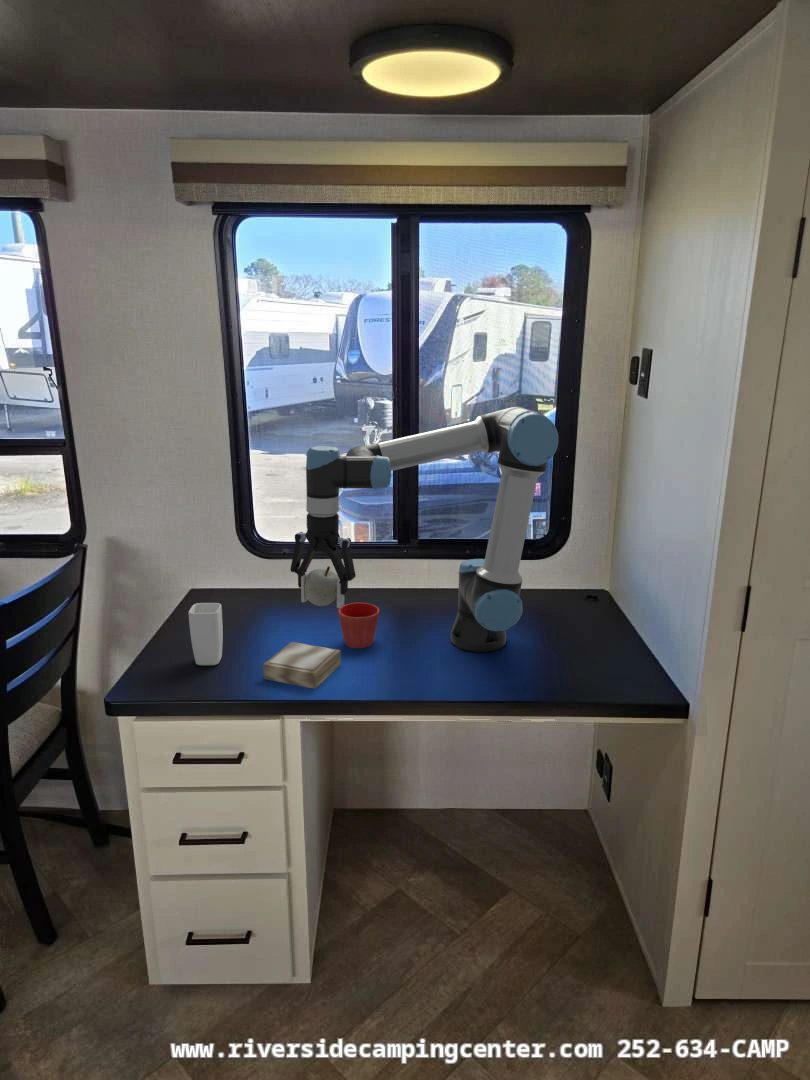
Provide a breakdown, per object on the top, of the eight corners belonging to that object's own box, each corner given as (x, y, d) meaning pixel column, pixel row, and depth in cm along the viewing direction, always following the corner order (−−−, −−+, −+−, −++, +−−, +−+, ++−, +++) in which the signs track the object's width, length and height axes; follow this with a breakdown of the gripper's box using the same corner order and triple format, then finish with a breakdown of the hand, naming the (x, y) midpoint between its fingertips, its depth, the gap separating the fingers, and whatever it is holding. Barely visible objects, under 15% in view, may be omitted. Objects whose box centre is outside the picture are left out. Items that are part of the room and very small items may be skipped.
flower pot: (374, 652, 194) (373, 618, 192) (334, 648, 197) (333, 615, 194) (383, 636, 204) (383, 604, 202) (345, 633, 207) (344, 601, 204)
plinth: (340, 664, 188) (340, 649, 186) (315, 688, 175) (315, 672, 174) (292, 655, 192) (291, 640, 191) (264, 678, 180) (263, 662, 178)
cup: (198, 656, 192) (194, 602, 187) (226, 655, 192) (222, 602, 188) (191, 668, 185) (186, 613, 180) (220, 668, 185) (216, 613, 181)
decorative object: (300, 600, 180) (299, 562, 178) (334, 596, 184) (334, 558, 181) (310, 613, 173) (310, 573, 170) (346, 609, 176) (346, 569, 173)
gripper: (371, 514, 172) (369, 604, 178) (289, 504, 179) (290, 591, 185) (358, 522, 165) (357, 615, 171) (274, 511, 172) (275, 601, 178)
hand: (322, 603), depth 178 cm, fingers closed on decorative object, 9 cm apart
